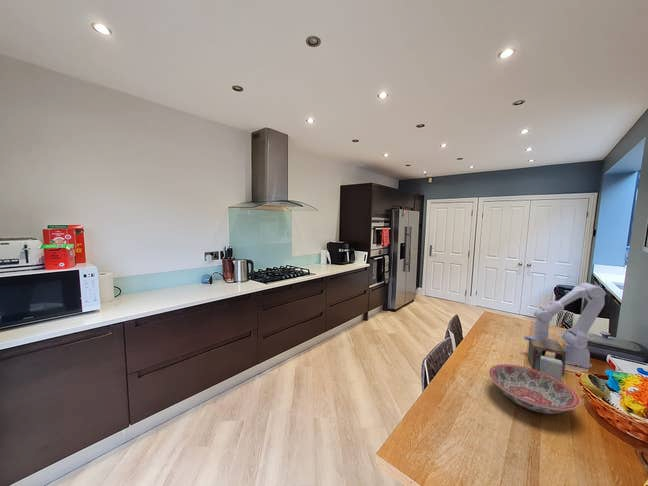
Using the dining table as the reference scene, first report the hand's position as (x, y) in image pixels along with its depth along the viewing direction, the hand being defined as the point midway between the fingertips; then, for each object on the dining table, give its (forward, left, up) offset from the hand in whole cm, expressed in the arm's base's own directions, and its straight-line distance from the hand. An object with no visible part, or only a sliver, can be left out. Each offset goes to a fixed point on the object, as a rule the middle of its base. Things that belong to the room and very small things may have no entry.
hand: (539, 354), depth 141 cm
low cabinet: (0, +10, -2) cm, 11 cm away
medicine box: (0, +20, -2) cm, 20 cm away
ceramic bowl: (+13, +47, -2) cm, 49 cm away
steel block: (+2, +6, -2) cm, 7 cm away
